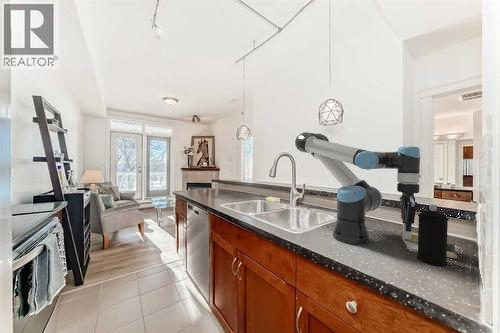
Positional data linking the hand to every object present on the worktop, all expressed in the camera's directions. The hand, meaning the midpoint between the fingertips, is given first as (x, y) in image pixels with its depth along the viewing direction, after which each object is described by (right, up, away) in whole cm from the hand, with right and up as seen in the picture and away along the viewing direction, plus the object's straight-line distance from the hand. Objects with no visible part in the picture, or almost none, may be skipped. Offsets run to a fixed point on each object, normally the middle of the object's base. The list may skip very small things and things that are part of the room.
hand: (407, 238), depth 89 cm
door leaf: (+8, -3, -5) cm, 10 cm away
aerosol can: (-3, -3, -15) cm, 15 cm away
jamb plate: (+2, -3, -2) cm, 4 cm away
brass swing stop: (+4, -1, -1) cm, 4 cm away
